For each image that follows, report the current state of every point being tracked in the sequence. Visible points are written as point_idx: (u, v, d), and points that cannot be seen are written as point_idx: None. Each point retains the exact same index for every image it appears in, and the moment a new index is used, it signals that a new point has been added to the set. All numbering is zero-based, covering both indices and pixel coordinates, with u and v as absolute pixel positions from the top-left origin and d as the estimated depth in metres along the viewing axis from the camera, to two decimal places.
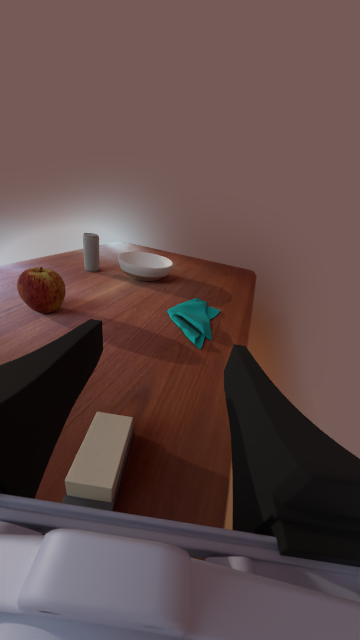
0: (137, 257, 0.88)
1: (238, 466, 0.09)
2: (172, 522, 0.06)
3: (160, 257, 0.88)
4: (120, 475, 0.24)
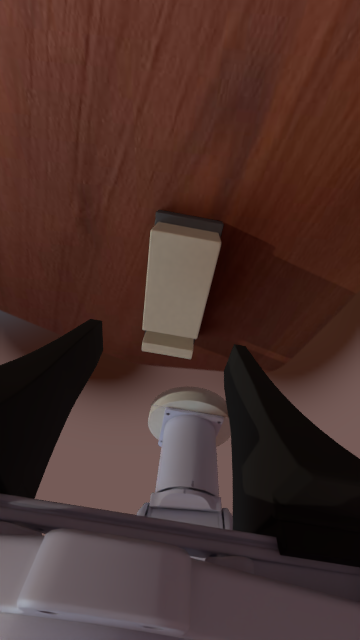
0: None
1: (238, 466, 0.09)
2: (172, 522, 0.06)
3: None
4: None
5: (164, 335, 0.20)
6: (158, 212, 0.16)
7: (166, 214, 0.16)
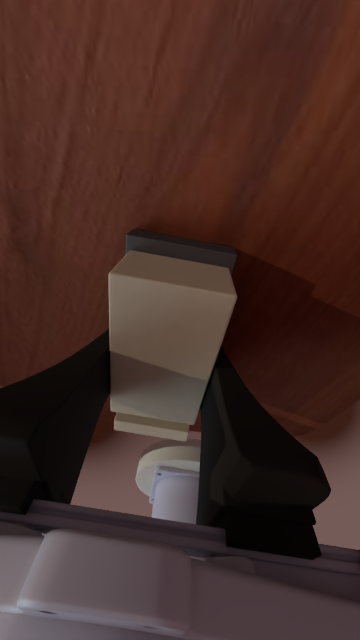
0: None
1: (203, 460, 0.09)
2: (172, 522, 0.06)
3: None
4: None
5: None
6: (130, 235, 0.10)
7: (143, 238, 0.09)
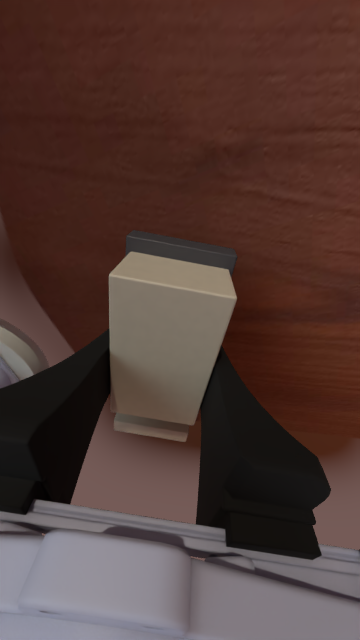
0: None
1: (204, 460, 0.09)
2: (172, 522, 0.06)
3: None
4: None
5: None
6: (130, 236, 0.10)
7: (143, 240, 0.09)
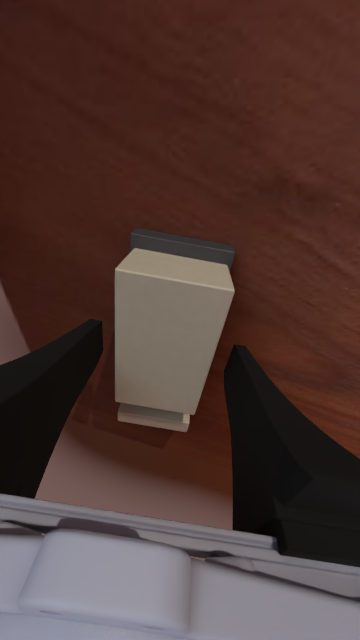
0: None
1: (238, 466, 0.09)
2: (172, 522, 0.06)
3: None
4: None
5: None
6: (134, 233, 0.10)
7: (146, 237, 0.10)
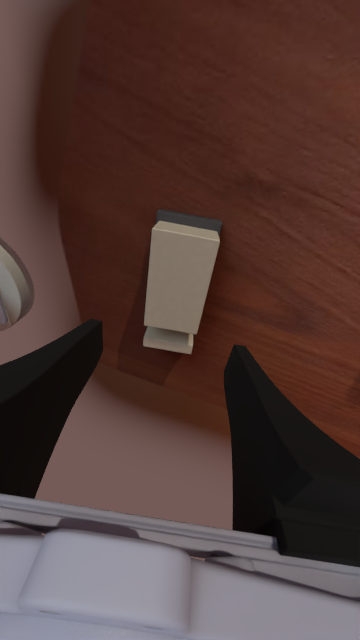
0: None
1: (238, 466, 0.09)
2: (172, 522, 0.06)
3: None
4: None
5: (165, 331, 0.21)
6: (159, 211, 0.16)
7: (167, 213, 0.16)
